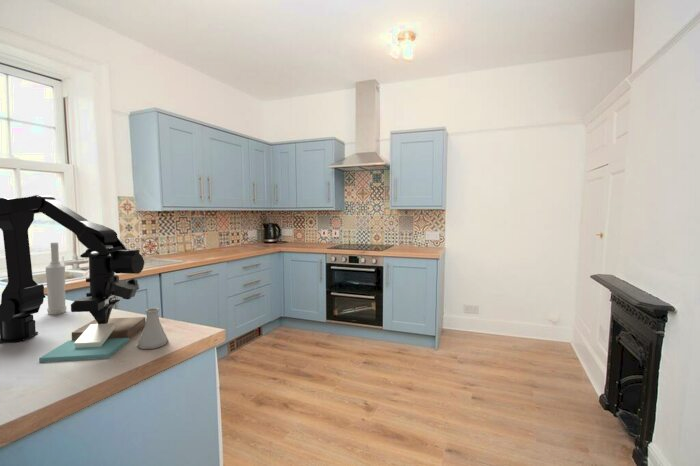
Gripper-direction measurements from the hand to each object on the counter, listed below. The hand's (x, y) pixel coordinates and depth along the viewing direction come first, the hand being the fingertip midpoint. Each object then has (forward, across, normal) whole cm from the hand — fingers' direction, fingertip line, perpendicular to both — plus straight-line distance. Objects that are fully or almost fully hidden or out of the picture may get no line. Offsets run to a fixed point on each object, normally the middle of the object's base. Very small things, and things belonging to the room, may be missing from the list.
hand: (103, 327), depth 95 cm
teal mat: (+4, -8, 0) cm, 9 cm away
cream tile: (+1, -4, 0) cm, 5 cm away
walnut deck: (+4, +4, 0) cm, 5 cm away
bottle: (+4, +29, +29) cm, 41 cm away
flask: (+4, -6, -15) cm, 17 cm away
